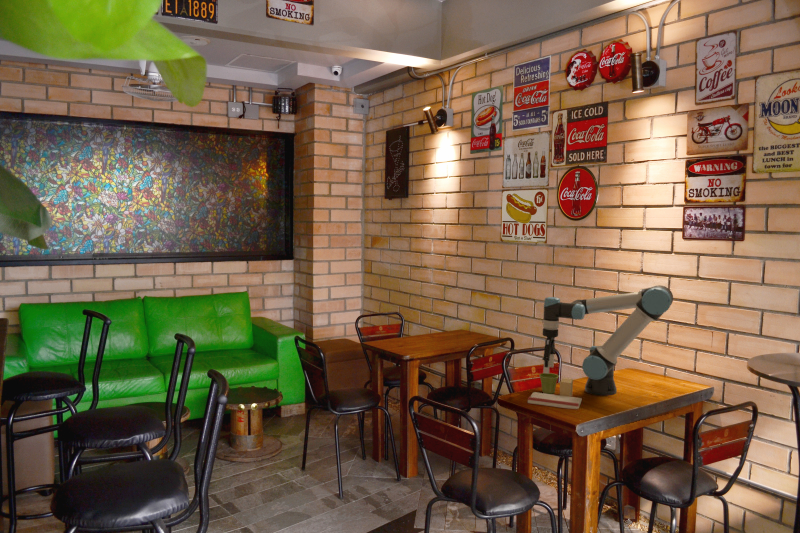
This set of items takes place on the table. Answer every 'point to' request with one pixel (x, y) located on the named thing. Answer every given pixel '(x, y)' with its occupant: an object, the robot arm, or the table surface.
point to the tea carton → (566, 387)
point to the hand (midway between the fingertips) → (548, 370)
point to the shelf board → (555, 400)
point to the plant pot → (548, 382)
